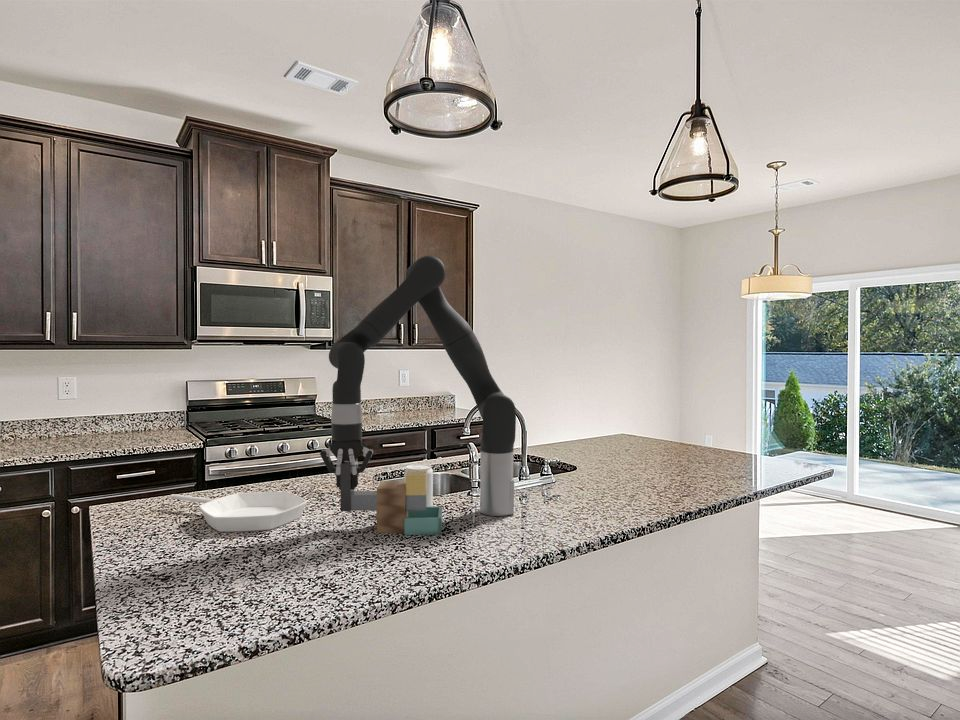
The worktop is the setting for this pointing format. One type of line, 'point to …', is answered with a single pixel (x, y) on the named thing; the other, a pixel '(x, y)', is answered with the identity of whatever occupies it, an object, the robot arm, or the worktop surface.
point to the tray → (424, 521)
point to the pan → (249, 510)
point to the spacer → (416, 482)
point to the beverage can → (429, 479)
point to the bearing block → (391, 507)
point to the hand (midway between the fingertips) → (347, 488)
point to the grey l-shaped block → (369, 495)
